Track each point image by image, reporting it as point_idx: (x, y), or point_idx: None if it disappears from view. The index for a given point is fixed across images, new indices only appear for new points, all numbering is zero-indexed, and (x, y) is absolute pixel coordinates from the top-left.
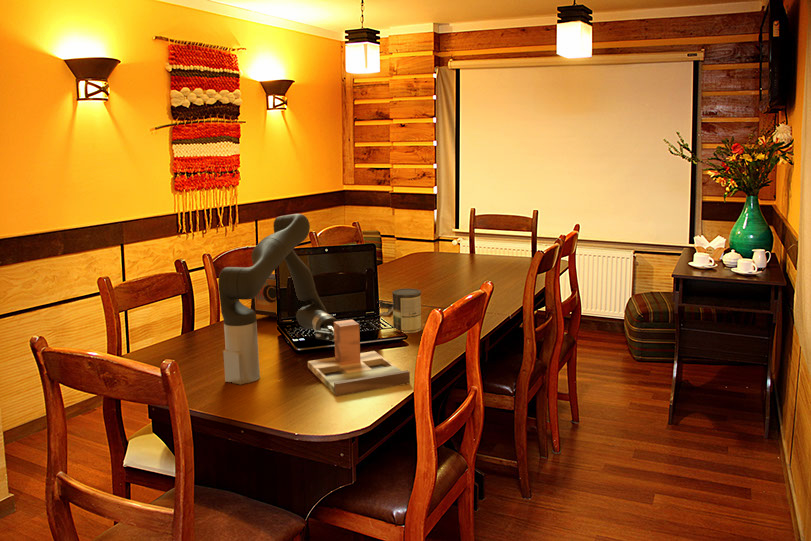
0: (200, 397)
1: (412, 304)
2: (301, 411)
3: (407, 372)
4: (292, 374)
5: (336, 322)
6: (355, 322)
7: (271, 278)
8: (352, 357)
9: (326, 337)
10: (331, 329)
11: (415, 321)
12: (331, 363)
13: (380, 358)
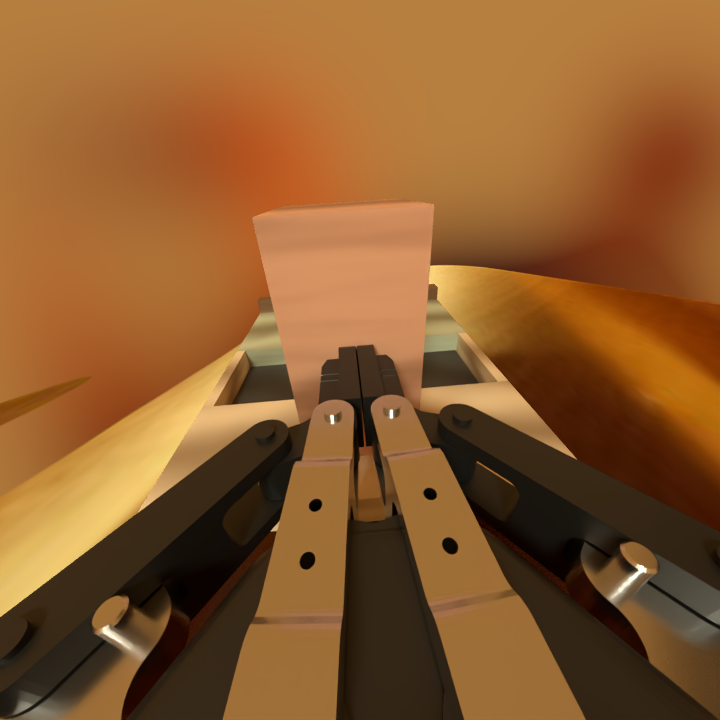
0: None
1: None
2: (495, 290)
3: (265, 297)
4: (622, 434)
5: (411, 204)
6: (283, 208)
7: None
8: None
9: (506, 516)
10: (448, 464)
11: None
12: (439, 411)
13: (218, 407)
